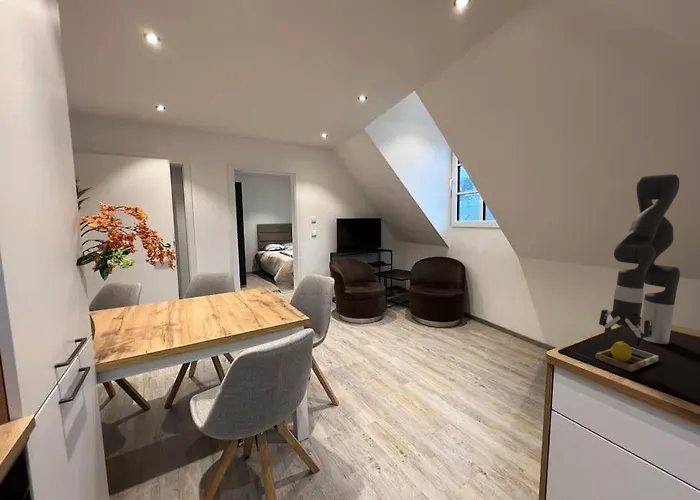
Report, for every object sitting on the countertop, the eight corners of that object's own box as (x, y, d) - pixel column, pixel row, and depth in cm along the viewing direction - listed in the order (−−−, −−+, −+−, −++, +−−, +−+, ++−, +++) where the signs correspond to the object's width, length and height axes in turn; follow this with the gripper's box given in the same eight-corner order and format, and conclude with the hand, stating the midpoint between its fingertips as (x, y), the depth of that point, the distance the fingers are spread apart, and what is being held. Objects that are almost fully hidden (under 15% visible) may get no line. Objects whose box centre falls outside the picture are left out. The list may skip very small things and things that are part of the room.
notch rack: (622, 349, 121) (623, 344, 121) (658, 361, 112) (658, 355, 111) (595, 358, 112) (595, 353, 112) (630, 371, 103) (631, 366, 103)
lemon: (634, 366, 107) (636, 345, 106) (616, 364, 108) (618, 343, 107) (623, 359, 112) (626, 339, 111) (606, 357, 113) (608, 337, 112)
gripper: (659, 303, 103) (653, 348, 104) (609, 293, 115) (604, 333, 117) (649, 305, 99) (642, 352, 101) (599, 294, 112) (593, 336, 114)
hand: (622, 342), depth 109 cm, fingers open, 8 cm apart
